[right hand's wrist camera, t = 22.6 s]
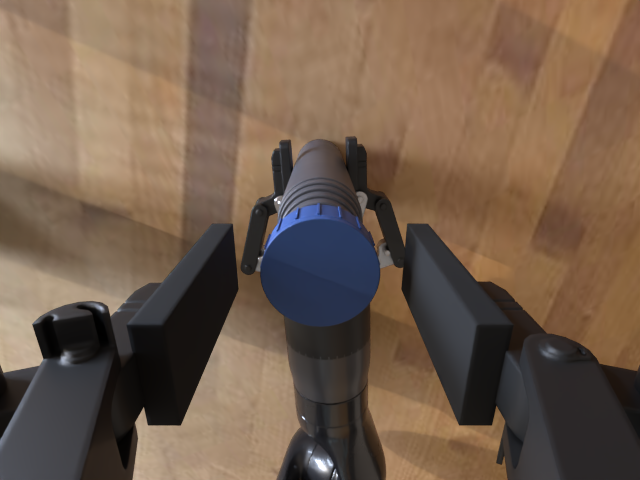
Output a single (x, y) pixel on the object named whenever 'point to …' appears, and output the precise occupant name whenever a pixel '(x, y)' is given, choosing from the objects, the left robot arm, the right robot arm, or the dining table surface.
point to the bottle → (320, 181)
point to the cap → (320, 266)
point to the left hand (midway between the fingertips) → (317, 140)
